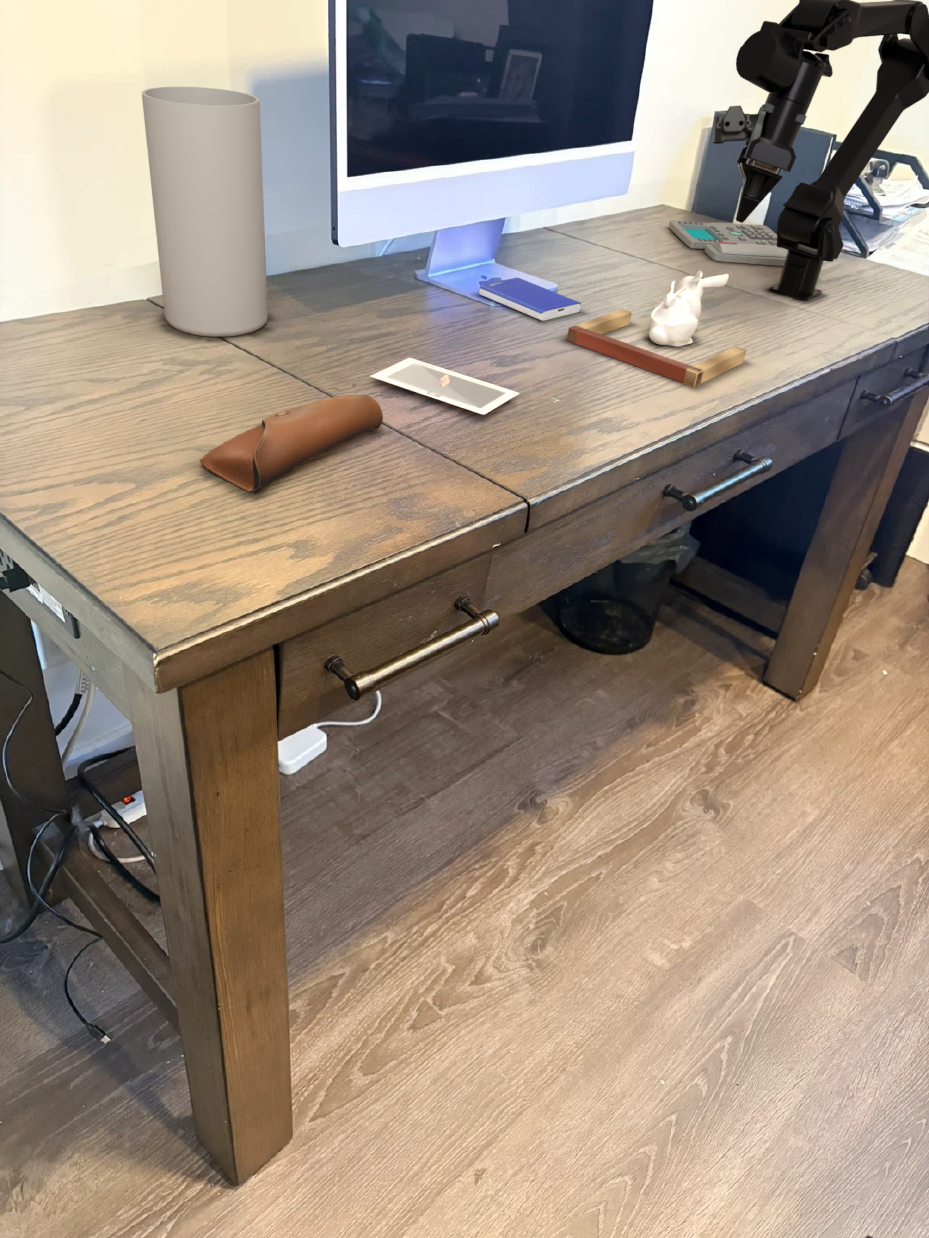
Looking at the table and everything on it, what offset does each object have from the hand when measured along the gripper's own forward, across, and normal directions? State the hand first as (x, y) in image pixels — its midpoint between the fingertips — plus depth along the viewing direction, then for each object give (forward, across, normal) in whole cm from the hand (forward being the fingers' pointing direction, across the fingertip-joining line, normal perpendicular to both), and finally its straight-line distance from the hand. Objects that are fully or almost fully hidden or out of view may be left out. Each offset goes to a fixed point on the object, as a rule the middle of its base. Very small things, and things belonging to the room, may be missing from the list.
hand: (739, 222), depth 133 cm
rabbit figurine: (+16, +15, -2) cm, 23 cm away
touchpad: (+27, +46, -26) cm, 59 cm away
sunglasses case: (+33, +65, -36) cm, 81 cm away
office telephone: (+4, -41, +4) cm, 41 cm away
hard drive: (+19, +10, -24) cm, 32 cm away
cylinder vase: (+30, +36, -58) cm, 75 cm away
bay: (+18, +22, -5) cm, 29 cm away
